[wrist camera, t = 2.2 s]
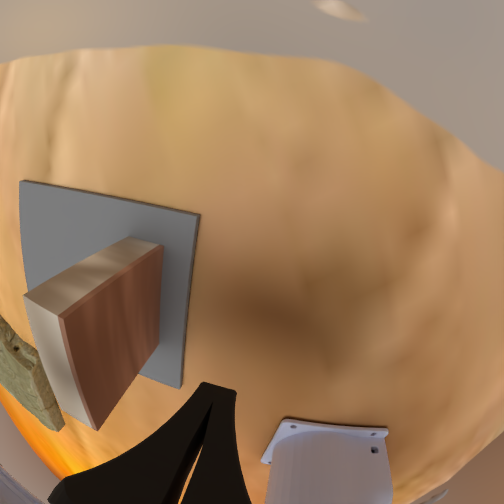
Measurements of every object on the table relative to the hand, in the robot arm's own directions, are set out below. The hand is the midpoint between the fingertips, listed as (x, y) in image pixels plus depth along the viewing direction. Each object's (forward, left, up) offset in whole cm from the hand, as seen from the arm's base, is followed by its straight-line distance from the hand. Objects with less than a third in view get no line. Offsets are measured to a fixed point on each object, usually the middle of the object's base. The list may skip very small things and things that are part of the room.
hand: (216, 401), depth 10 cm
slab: (+6, 0, -6) cm, 9 cm away
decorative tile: (+31, +20, -7) cm, 38 cm away
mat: (+11, +1, -6) cm, 13 cm away
